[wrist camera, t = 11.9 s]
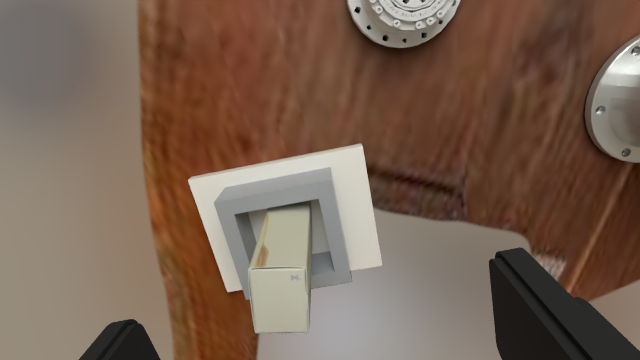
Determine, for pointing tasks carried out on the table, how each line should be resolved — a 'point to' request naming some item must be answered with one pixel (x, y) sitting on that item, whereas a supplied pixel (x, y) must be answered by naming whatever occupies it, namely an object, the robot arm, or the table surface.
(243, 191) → the square socket base
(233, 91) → the table surface
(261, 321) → the skincare box
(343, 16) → the table surface
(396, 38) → the mechanical component
